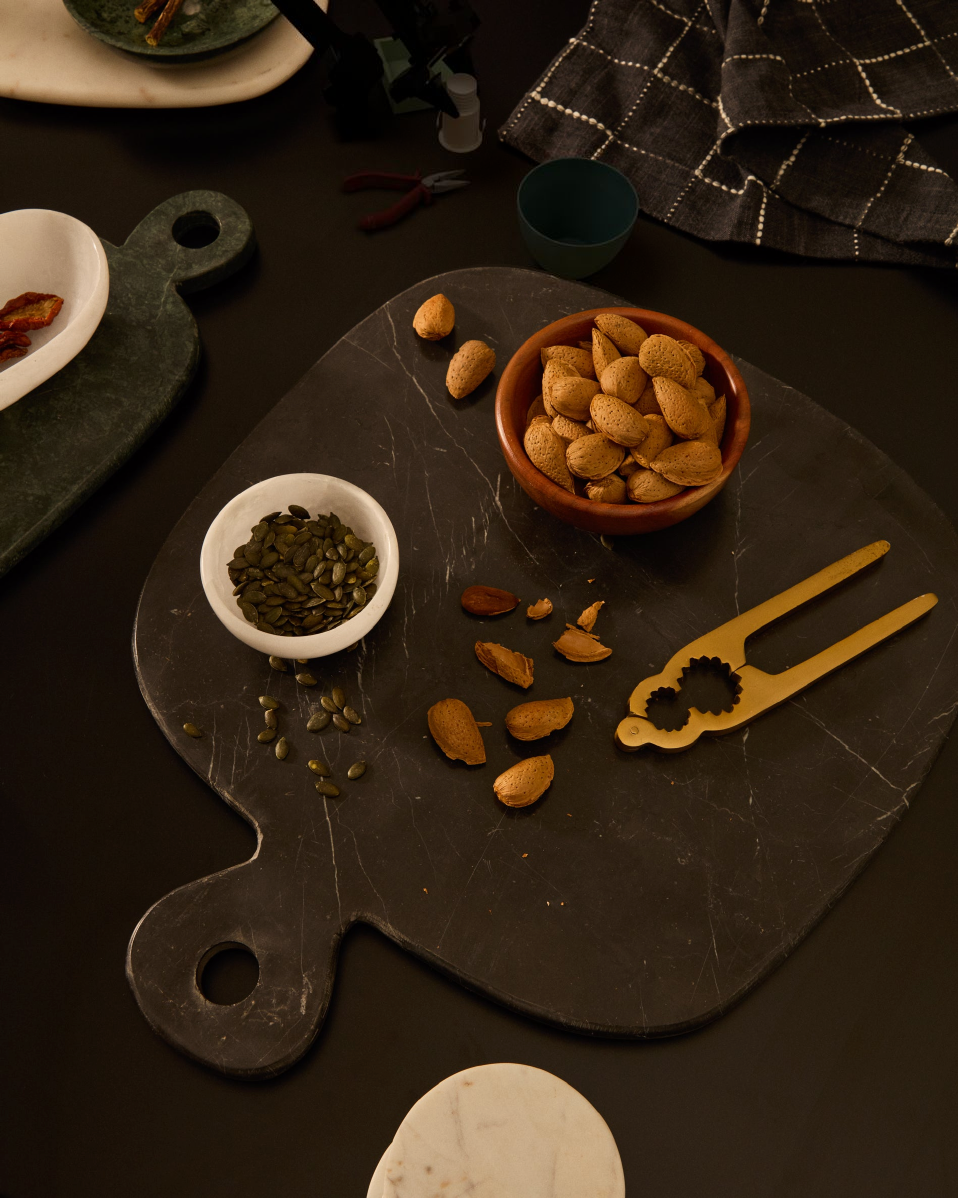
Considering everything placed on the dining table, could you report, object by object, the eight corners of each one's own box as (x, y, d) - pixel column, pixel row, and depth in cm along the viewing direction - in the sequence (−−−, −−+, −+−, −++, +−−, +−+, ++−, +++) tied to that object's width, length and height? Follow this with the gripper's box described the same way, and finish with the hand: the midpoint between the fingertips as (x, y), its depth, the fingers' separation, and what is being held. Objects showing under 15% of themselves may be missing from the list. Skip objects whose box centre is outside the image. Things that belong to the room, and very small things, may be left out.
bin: (375, 63, 175) (373, 39, 171) (448, 51, 177) (448, 27, 173) (393, 114, 170) (392, 90, 165) (468, 101, 172) (469, 77, 167)
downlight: (491, 131, 159) (494, 75, 150) (475, 159, 156) (478, 104, 147) (445, 117, 160) (445, 61, 151) (429, 145, 157) (428, 90, 148)
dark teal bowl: (646, 252, 157) (661, 191, 146) (585, 322, 151) (595, 264, 140) (554, 202, 162) (561, 139, 151) (490, 268, 155) (493, 207, 144)
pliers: (479, 205, 161) (479, 192, 158) (362, 235, 157) (361, 222, 155) (455, 159, 165) (455, 146, 163) (342, 186, 162) (340, 173, 160)
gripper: (403, 23, 134) (469, 123, 142) (472, -48, 141) (532, 51, 149) (359, 55, 143) (424, 148, 151) (426, -13, 150) (485, 79, 158)
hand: (467, 105), depth 152 cm, fingers closed on downlight, 6 cm apart
